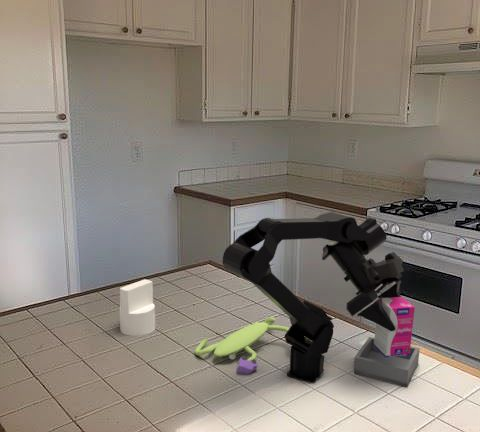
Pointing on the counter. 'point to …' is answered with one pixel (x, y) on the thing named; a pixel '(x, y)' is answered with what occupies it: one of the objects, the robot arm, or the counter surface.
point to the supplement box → (403, 322)
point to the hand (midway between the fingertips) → (400, 323)
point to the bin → (385, 365)
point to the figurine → (241, 344)
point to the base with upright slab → (137, 308)
